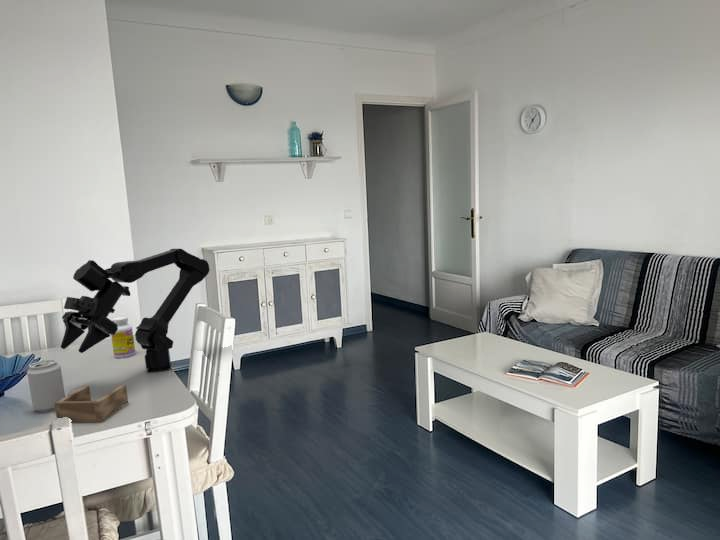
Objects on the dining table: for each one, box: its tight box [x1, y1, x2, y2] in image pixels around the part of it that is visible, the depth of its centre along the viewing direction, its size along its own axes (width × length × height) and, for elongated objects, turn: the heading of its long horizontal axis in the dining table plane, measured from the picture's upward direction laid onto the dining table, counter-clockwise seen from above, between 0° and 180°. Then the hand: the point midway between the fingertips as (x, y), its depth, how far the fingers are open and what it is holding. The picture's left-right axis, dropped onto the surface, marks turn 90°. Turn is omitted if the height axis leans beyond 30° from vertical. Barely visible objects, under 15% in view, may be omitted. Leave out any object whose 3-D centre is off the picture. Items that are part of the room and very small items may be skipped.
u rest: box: [54, 384, 129, 423], centre depth 135 cm, size 11×11×5 cm
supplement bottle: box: [110, 316, 136, 359], centre depth 183 cm, size 7×7×13 cm
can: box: [26, 359, 66, 413], centre depth 140 cm, size 8×8×12 cm
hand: (71, 350), depth 145 cm, fingers open, 9 cm apart
